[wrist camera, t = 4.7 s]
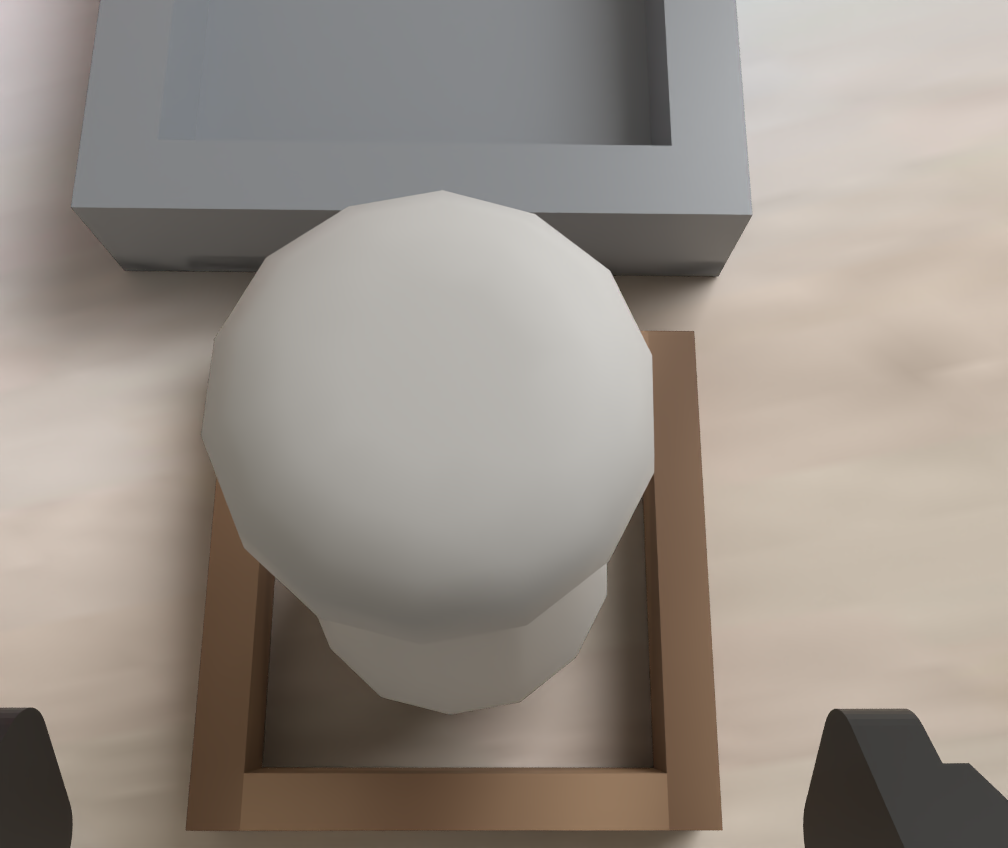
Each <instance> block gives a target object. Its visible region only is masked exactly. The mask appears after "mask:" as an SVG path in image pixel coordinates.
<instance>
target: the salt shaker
mask: <svg viewBox="0 0 1008 848" xmlns="http://www.w3.org/2000/svg"><path fill="white" fill-rule="evenodd" d="M201 437H202V440H203V442H204V445H205V447H206V450H207V453H208V455H209V458H210V461H211V463H212V466H213V468H214V471H215V474H216V476H217V479H218V482H219V484H220V487H221V489H222V492H223V495H224V497H225V500H226V502H227V505H228V508H229V510H230V513H231V516H232V518H233V521H234V523H235V526H236V529H237V531H238V534H239V536H240V539H241V542H242V544H243V547H244V548H245V549H246V550H247V551H248V552H249V553H250V554H251V555H252V556H253V557H254V558H255V559H256V560H257V561H258V562H260V563H261V564H262V565H263V566H264V567H265V568H266V569H267V570H268V571H269V572H270V573H271V574H272V575H273V576H275V577H276V578H277V579H278V580H279V581H280V582H281V583H282V584H283V585H284V586H285V587H286V588H287V589H288V590H290V591H291V592H292V593H293V594H294V595H295V596H296V597H297V598H298V599H299V600H300V601H301V602H302V603H303V604H305V605H306V606H307V607H308V608H309V609H310V610H311V611H312V612H313V613H314V614H315V615H316V616H317V617H318V619H319V622H320V624H321V627H322V629H323V632H324V634H325V637H326V639H327V641H328V644H329V646H330V649H331V650H332V651H333V652H335V653H336V654H337V655H338V656H339V657H340V658H341V659H342V660H343V661H344V662H345V663H346V664H347V665H348V666H349V667H350V668H351V669H352V670H353V671H354V672H355V673H356V674H357V675H358V676H360V677H361V678H362V679H363V680H364V681H365V682H366V683H367V684H368V685H369V686H370V687H371V688H372V689H373V690H374V691H375V692H376V693H377V694H378V695H379V696H380V697H382V698H386V699H390V700H394V701H398V702H402V703H406V704H410V705H414V706H418V707H422V708H426V709H430V710H434V711H438V712H441V713H445V714H449V715H452V714H457V713H463V712H468V711H474V710H479V709H485V708H490V707H496V706H501V705H507V704H512V703H518V702H521V701H522V700H523V699H525V698H526V697H527V696H528V695H530V694H531V693H532V692H533V691H535V690H536V689H537V688H538V687H540V686H541V685H542V684H543V683H545V682H546V681H547V680H548V679H550V678H551V677H552V676H553V675H555V674H556V673H557V672H558V671H560V670H561V669H562V668H563V667H565V666H566V665H567V664H568V663H570V662H571V661H572V660H573V659H575V658H576V656H577V654H578V652H579V650H580V648H581V646H582V644H583V642H584V640H585V638H586V636H587V634H588V632H589V630H590V628H591V626H592V624H593V622H594V620H595V618H596V616H597V614H598V612H599V610H600V608H601V606H602V604H603V602H604V600H605V598H606V596H607V562H609V560H610V558H611V556H612V554H613V552H614V550H615V548H616V546H617V544H618V543H619V541H620V539H621V537H622V535H623V533H624V531H625V529H626V527H627V525H628V523H629V521H630V519H631V517H632V515H633V513H634V511H635V509H636V507H637V505H638V503H639V501H640V499H641V497H642V495H643V493H644V491H645V489H646V487H647V485H648V483H649V481H650V480H651V478H652V476H653V474H654V416H653V371H652V354H651V352H650V350H649V348H648V346H647V344H646V342H645V340H644V338H643V336H642V334H641V332H640V330H639V328H638V326H637V324H636V322H635V320H634V318H633V316H632V314H631V312H630V310H629V308H628V306H627V304H626V302H625V300H624V298H623V296H622V294H621V292H620V290H619V288H618V286H617V284H616V282H615V280H614V278H613V276H612V274H611V272H610V270H608V269H607V268H606V267H604V266H603V265H602V264H600V263H599V262H598V261H596V260H595V259H594V258H592V257H591V256H590V255H589V254H587V253H586V252H585V251H583V250H582V249H581V248H579V247H578V246H577V245H575V244H574V243H573V242H571V241H570V240H569V239H567V238H566V237H565V236H563V235H562V234H561V233H559V232H558V231H557V230H555V229H554V228H553V227H551V226H550V225H549V224H547V223H546V222H545V221H543V220H542V219H541V218H540V217H538V216H537V215H536V214H533V213H529V212H525V211H521V210H518V209H514V208H510V207H506V206H502V205H498V204H494V203H490V202H487V201H483V200H479V199H475V198H471V197H467V196H463V195H459V194H456V193H452V192H448V191H444V190H441V191H435V192H429V193H424V194H418V195H412V196H406V197H400V198H395V199H389V200H383V201H377V202H372V203H366V204H360V205H354V206H348V207H347V208H345V209H343V210H342V211H340V212H339V213H337V214H335V215H334V216H332V217H331V218H329V219H327V220H326V221H324V222H322V223H321V224H319V225H318V226H316V227H314V228H313V229H311V230H310V231H308V232H306V233H305V234H303V235H302V236H300V237H298V238H297V239H295V240H293V241H292V242H290V243H289V244H287V245H285V246H284V247H282V248H281V249H279V250H277V251H276V252H274V253H272V254H271V255H269V256H268V257H266V259H265V260H264V262H263V263H262V265H261V266H260V268H259V270H258V271H257V273H256V274H255V276H254V277H253V279H252V280H251V282H250V284H249V285H248V287H247V288H246V290H245V291H244V293H243V295H242V296H241V298H240V299H239V301H238V302H237V304H236V306H235V307H234V309H233V310H232V312H231V313H230V315H229V316H228V318H227V320H226V321H225V323H224V324H223V326H222V327H221V329H220V331H219V332H218V334H217V335H216V337H215V338H214V345H213V352H212V359H211V366H210V373H209V381H208V388H207V395H206V402H205V409H204V417H203V424H202V431H201Z"/></svg>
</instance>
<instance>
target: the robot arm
mask: <svg viewBox="0 0 1008 848" xmlns="http://www.w3.org/2000/svg"><path fill="white" fill-rule="evenodd" d="M72 826H73V824H72V810H71V806H70V802H69V799H68V796H67V792H66V789H65V786H64V783H63V779H62V776H61V773H60V770H59V766H58V763H57V760H56V757H55V753H54V750H53V747H52V744H51V740H50V737H49V734H48V731H47V727H46V724H45V721H44V719H43V716H42V715H41V713H40V712H39V711H38V710H37V709H35V708H0V848H70V846H71V839H72ZM803 832H804V844H805V848H1008V800H1007V799H1006V798H1005V797H1004V796H1003V795H1002V794H1001V793H1000V792H999V791H998V790H997V789H996V788H994V787H993V786H992V785H991V784H990V783H989V782H988V781H987V780H986V779H985V778H984V777H983V776H982V775H981V774H980V773H979V772H978V771H977V770H976V769H974V768H973V767H972V766H971V765H970V764H969V763H950V764H943V763H942V761H941V760H940V758H939V756H938V754H937V752H936V750H935V748H934V746H933V744H932V742H931V741H930V739H929V737H928V735H927V733H926V731H925V729H924V727H923V725H922V724H921V722H920V720H919V719H918V717H917V716H916V715H915V714H914V713H913V712H912V711H910V710H908V709H833V710H832V711H831V712H830V713H829V715H828V717H827V719H826V722H825V726H824V730H823V734H822V738H821V742H820V746H819V750H818V754H817V758H816V763H815V767H814V771H813V775H812V779H811V783H810V787H809V791H808V795H807V799H806V803H805V808H804V817H803Z"/></svg>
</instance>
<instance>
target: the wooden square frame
mask: <svg viewBox="0 0 1008 848" xmlns="http://www.w3.org/2000/svg"><path fill="white" fill-rule="evenodd" d="M640 332H641V334H642V336H643V338H644V340H645V342H646V344H647V346H648V348H649V350H650V352H651V354H652V371H653V416H654V474H653V476H652V478H651V480H650V481H649V483H648V485H647V487H646V489H645V491H644V493H643V512H644V538H645V563H646V589H647V615H648V640H649V666H650V692H651V717H652V743H653V768H288V767H262V760H263V745H264V730H265V715H266V701H267V686H268V671H269V656H270V642H271V627H272V612H273V598H274V583H275V576H273V575H272V574H271V573H270V572H269V571H268V570H267V569H266V568H265V567H264V566H263V565H262V564H261V563H260V562H258V561H257V560H256V559H255V558H254V557H253V556H252V555H251V554H250V553H249V552H248V551H247V550H246V549H245V548H244V547H243V544H242V542H241V539H240V536H239V534H238V531H237V529H236V526H235V523H234V521H233V518H232V516H231V513H230V510H229V508H228V505H227V502H226V500H225V497H224V495H223V492H222V489H221V487H220V484H219V482H218V479H217V476H216V488H215V499H214V511H213V522H212V534H211V545H210V557H209V568H208V580H207V591H206V603H205V614H204V626H203V637H202V649H201V660H200V671H199V683H198V694H197V706H196V717H195V729H194V740H193V752H192V763H191V775H190V786H189V798H188V809H187V821H186V831H357V830H722V812H721V795H720V777H719V759H718V742H717V724H716V707H715V689H714V671H713V654H712V636H711V619H710V601H709V583H708V566H707V548H706V531H705V513H704V496H703V478H702V460H701V443H700V425H699V408H698V390H697V372H696V355H695V337H694V331H640Z"/></svg>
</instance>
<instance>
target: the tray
mask: <svg viewBox="0 0 1008 848" xmlns="http://www.w3.org/2000/svg"><path fill="white" fill-rule="evenodd" d="M441 190H444V191H448V192H452V193H456V194H459V195H463V196H467V197H471V198H475V199H479V200H483V201H487V202H490V203H494V204H498V205H502V206H506V207H510V208H514V209H518V210H521V211H525V212H529V213H533V214H536V215H537V216H538V217H540V218H541V219H542V220H543V221H545V222H546V223H547V224H549V225H550V226H551V227H553V228H554V229H555V230H557V231H558V232H559V233H561V234H562V235H563V236H565V237H566V238H567V239H569V240H570V241H571V242H573V243H574V244H575V245H577V246H578V247H579V248H581V249H582V250H583V251H585V252H586V253H587V254H589V255H590V256H591V257H592V258H594V259H595V260H596V261H598V262H599V263H600V264H602V265H603V266H604V267H606V268H607V269H608V270H610V272H611V274H612V275H644V276H719V274H720V272H721V270H722V269H723V267H724V265H725V263H726V261H727V260H728V258H729V256H730V254H731V252H732V251H733V249H734V247H735V245H736V243H737V242H738V240H739V238H740V236H741V234H742V233H743V231H744V229H745V227H746V225H747V224H748V222H749V220H750V218H751V216H752V202H751V189H750V177H749V164H748V151H747V138H746V125H745V112H744V99H743V87H742V74H741V61H740V48H739V35H738V22H737V9H736V0H100V6H99V13H98V20H97V27H96V34H95V41H94V48H93V55H92V62H91V69H90V77H89V84H88V91H87V98H86V105H85V112H84V119H83V126H82V133H81V140H80V147H79V154H78V161H77V168H76V175H75V182H74V190H73V197H72V204H71V208H72V209H73V210H74V211H75V213H76V214H77V215H78V216H79V217H80V219H81V220H82V221H83V222H84V223H85V224H86V226H87V227H88V228H89V229H90V230H91V231H92V233H93V234H94V235H95V236H96V237H97V239H98V240H99V241H100V242H101V243H102V244H103V246H104V247H105V248H106V249H107V250H108V251H109V253H110V254H111V255H112V256H113V257H114V259H115V260H116V261H117V262H118V263H119V264H120V266H121V267H122V268H123V269H124V270H132V271H234V272H257V271H258V270H259V268H260V266H261V265H262V263H263V262H264V260H265V259H266V257H268V256H269V255H271V254H272V253H274V252H276V251H277V250H279V249H281V248H282V247H284V246H285V245H287V244H289V243H290V242H292V241H293V240H295V239H297V238H298V237H300V236H302V235H303V234H305V233H306V232H308V231H310V230H311V229H313V228H314V227H316V226H318V225H319V224H321V223H322V222H324V221H326V220H327V219H329V218H331V217H332V216H334V215H335V214H337V213H339V212H340V211H342V210H343V209H345V208H347V207H348V206H354V205H360V204H366V203H372V202H377V201H383V200H389V199H395V198H400V197H406V196H412V195H418V194H424V193H429V192H435V191H441Z"/></svg>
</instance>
